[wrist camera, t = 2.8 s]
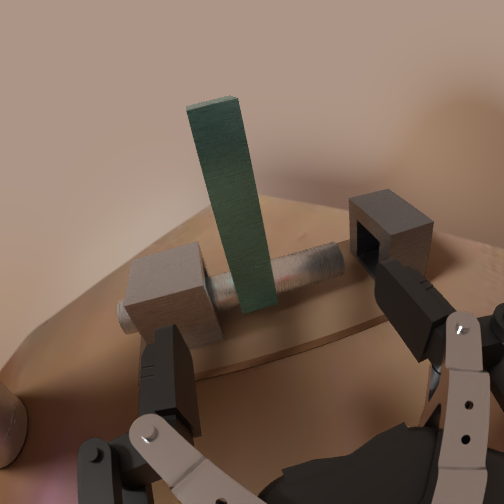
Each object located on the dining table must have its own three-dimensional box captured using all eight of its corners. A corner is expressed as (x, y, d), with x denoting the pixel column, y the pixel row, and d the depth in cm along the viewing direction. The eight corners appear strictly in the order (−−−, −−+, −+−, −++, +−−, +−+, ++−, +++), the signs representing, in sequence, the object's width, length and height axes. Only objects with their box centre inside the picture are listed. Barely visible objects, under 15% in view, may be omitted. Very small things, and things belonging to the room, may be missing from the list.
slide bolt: (130, 342, 24) (38, 167, 15) (133, 316, 27) (55, 154, 18) (345, 282, 25) (332, 83, 16) (330, 262, 28) (312, 82, 19)
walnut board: (144, 390, 22) (138, 384, 21) (148, 303, 31) (144, 296, 30) (434, 299, 24) (436, 291, 23) (376, 238, 33) (376, 231, 32)
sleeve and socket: (155, 362, 23) (122, 311, 20) (157, 306, 29) (132, 257, 25) (424, 278, 25) (433, 221, 21) (386, 240, 31) (388, 188, 27)
